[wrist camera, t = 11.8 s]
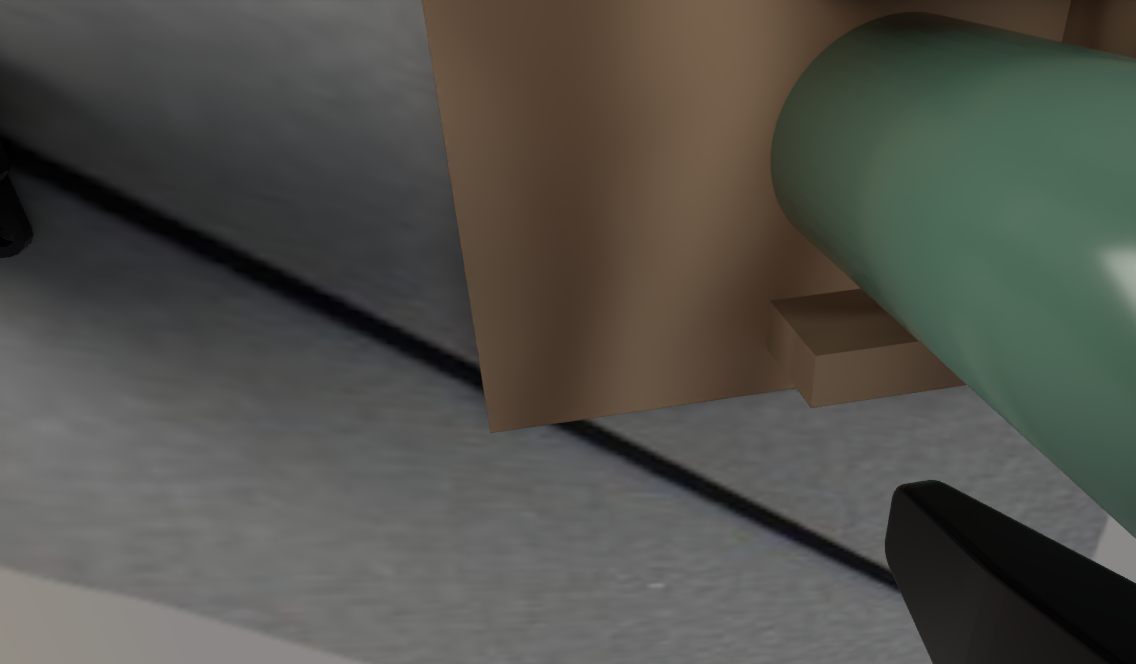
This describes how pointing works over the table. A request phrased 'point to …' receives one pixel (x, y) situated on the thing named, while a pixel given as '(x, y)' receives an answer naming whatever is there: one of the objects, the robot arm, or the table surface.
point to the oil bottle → (985, 218)
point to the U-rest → (665, 200)
